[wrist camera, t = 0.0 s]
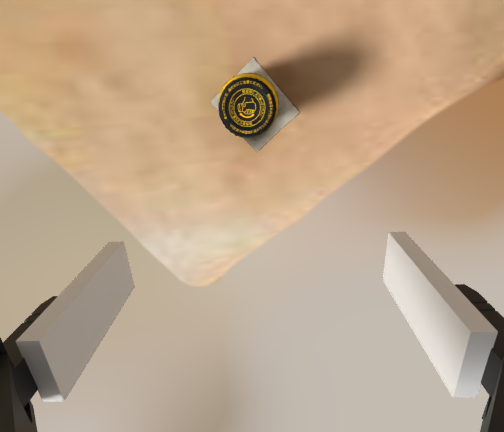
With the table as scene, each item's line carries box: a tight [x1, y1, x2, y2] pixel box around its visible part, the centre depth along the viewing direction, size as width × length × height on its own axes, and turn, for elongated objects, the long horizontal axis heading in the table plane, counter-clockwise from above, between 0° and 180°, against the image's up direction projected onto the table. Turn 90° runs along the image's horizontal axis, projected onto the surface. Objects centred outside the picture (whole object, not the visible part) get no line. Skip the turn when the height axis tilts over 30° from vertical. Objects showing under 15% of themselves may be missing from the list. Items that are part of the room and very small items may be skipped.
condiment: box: [211, 58, 299, 152], centre depth 34 cm, size 7×8×12 cm
